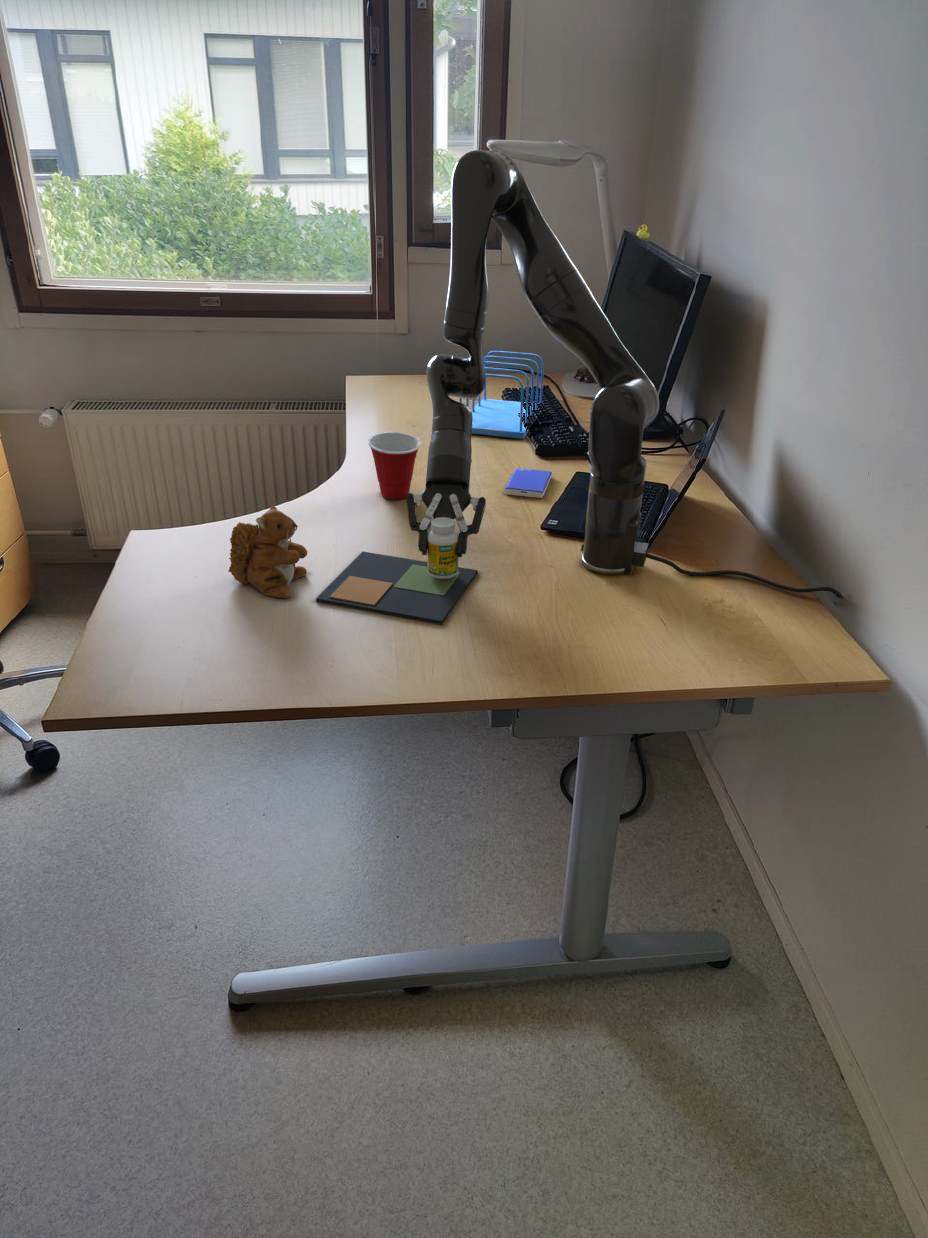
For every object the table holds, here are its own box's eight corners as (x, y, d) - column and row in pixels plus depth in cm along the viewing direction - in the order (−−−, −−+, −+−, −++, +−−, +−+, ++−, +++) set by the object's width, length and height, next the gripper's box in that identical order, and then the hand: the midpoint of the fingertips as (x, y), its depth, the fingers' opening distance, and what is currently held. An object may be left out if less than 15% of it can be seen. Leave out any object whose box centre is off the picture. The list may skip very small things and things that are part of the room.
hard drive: (515, 467, 198) (504, 487, 188) (552, 470, 196) (543, 491, 186) (515, 474, 199) (504, 494, 188) (551, 477, 197) (542, 498, 187)
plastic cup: (390, 509, 180) (389, 452, 174) (359, 493, 187) (357, 438, 181) (431, 496, 187) (432, 441, 181) (400, 481, 194) (399, 428, 188)
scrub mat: (477, 573, 156) (477, 569, 156) (441, 624, 141) (442, 620, 140) (362, 554, 162) (362, 550, 162) (316, 601, 146) (315, 597, 146)
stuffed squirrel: (291, 601, 146) (284, 527, 140) (215, 588, 150) (205, 516, 143) (317, 575, 155) (312, 504, 148) (244, 563, 158) (236, 494, 152)
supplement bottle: (447, 562, 157) (448, 512, 152) (464, 575, 153) (465, 524, 148) (421, 570, 154) (421, 519, 149) (437, 582, 150) (438, 531, 145)
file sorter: (482, 405, 244) (484, 348, 236) (544, 411, 240) (548, 354, 232) (456, 432, 223) (456, 371, 216) (523, 440, 219) (526, 377, 212)
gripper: (405, 450, 150) (397, 545, 146) (490, 454, 150) (484, 549, 146) (410, 469, 158) (401, 559, 154) (490, 473, 157) (484, 564, 153)
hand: (442, 554), depth 150 cm, fingers closed on supplement bottle, 5 cm apart
